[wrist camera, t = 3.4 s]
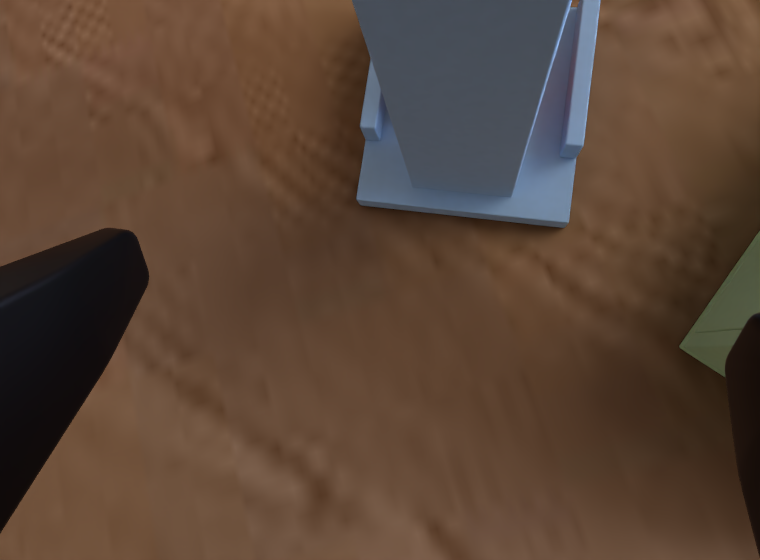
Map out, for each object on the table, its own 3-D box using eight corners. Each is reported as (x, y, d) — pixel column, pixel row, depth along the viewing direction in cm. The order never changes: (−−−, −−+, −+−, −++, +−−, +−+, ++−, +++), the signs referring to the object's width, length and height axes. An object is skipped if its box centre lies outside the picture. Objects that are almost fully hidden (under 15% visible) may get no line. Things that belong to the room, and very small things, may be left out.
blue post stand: (564, 228, 19) (736, 18, 7) (359, 205, 21) (206, -6, 8) (589, 20, 20) (780, -488, 8) (390, 11, 21) (292, -437, 9)
